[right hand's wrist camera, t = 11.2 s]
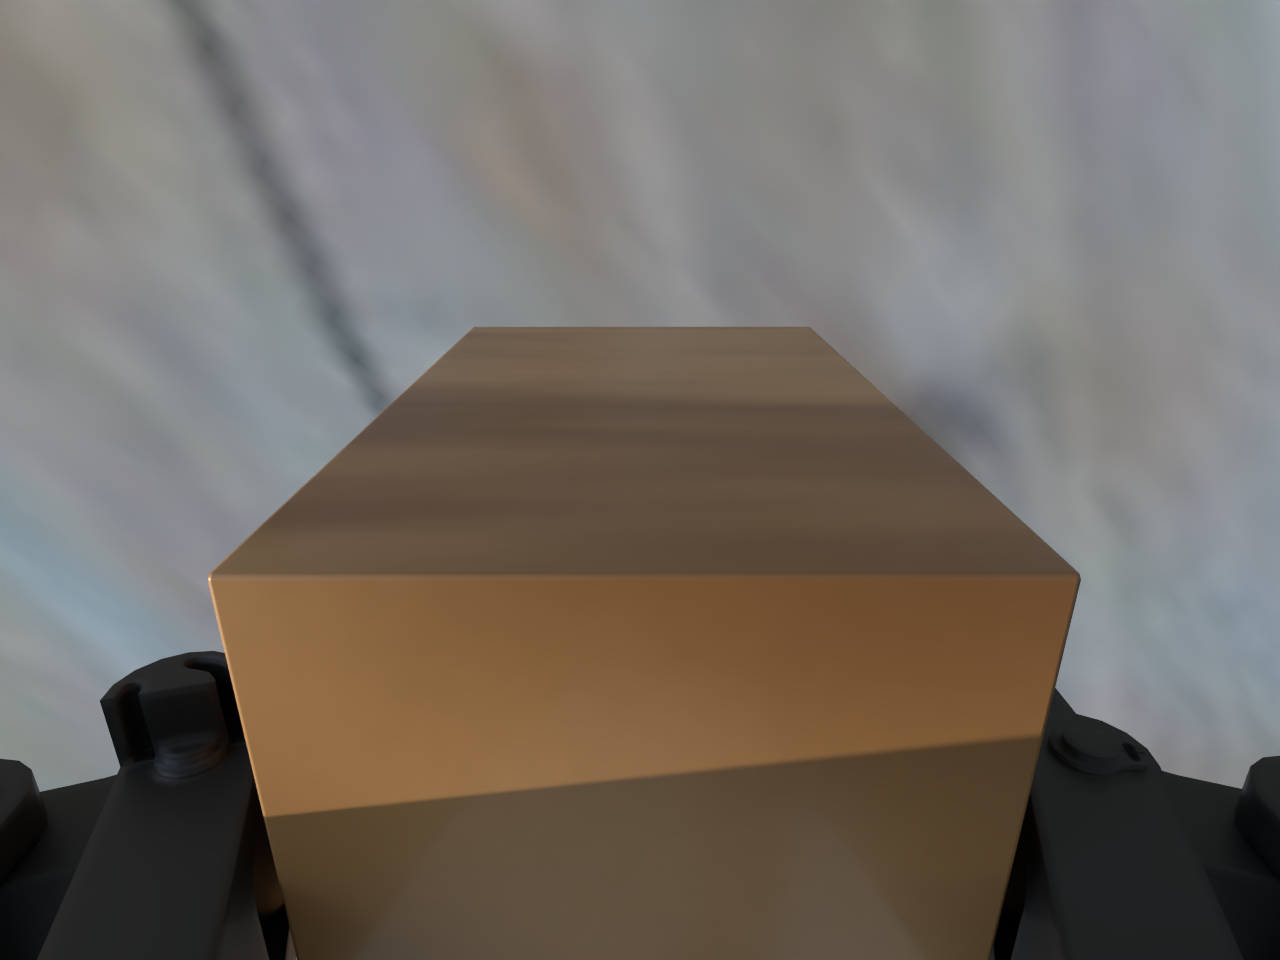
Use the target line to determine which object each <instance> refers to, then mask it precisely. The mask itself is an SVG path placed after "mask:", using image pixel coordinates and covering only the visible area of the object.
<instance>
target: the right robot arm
mask: <svg viewBox="0 0 1280 960" xmlns="http://www.w3.org/2000/svg"><path fill="white" fill-rule="evenodd" d="M100 703H101V706H102V709H103V713H104V716H105V719H106V722H107V725H108V728H109V732H110V735H111V738H112V741H113V744H114V748H115V751H116V754H117V757H118V760H119V764H120V769H119V772H118V774H117V775H114V776H110V777H107V778H103V779H99V780H94V781H89V782H85V783H80V784H75V785H71V786H66V787H61V788H57V789H52V790H47V791H43V792H39V789H38V786H37V783H36V781H35V778H34V775H33V773H32V770H31V769H30V768H28V767H27V766H26V765H24V764H23V763H21V762H20V761H16V760H6V759H0V960H296V952H295V948H294V944H293V939H292V935H291V931H290V927H289V922H288V918H287V914H286V910H285V906H284V901H283V897H282V893H281V889H280V884H279V880H278V876H277V872H276V867H275V863H274V859H273V855H272V850H271V846H270V842H269V838H268V834H267V829H266V825H265V821H264V817H263V812H262V808H261V804H260V800H259V795H258V791H257V787H256V783H255V778H254V774H253V770H252V766H251V761H250V757H249V753H248V749H247V745H246V740H245V736H244V732H243V728H242V723H241V719H240V715H239V711H238V706H237V702H236V698H235V694H234V689H233V685H232V681H231V677H230V672H229V668H228V664H227V660H226V656H225V653H221V652H216V651H205V652H189V653H185V654H181V655H177V656H172V657H168V658H164V659H161V660H158V661H156V662H154V663H151V664H149V665H147V666H144V667H142V668H140V669H137V670H135V671H133V672H132V673H130V674H129V675H127V676H126V677H124V678H123V679H121V680H120V681H118V682H117V683H115V684H114V685H113V686H112V687H111V688H110V689H109V691H108V692H107V693H106V694H105V695H104V696H103V698H102V699H101V700H100ZM990 960H1280V756H1274V757H1264V758H1262V759H1260V760H1259V761H1257V762H1256V763H1255V764H1253V765H1252V766H1250V769H1249V772H1248V775H1247V777H1246V780H1245V783H1244V785H1243V788H1242V789H1239V788H1235V787H1230V786H1225V785H1221V784H1216V783H1211V782H1207V781H1202V780H1197V779H1193V778H1188V777H1183V776H1179V775H1175V774H1171V773H1168V772H1164V771H1162V770H1161V768H1160V766H1159V764H1158V763H1157V762H1156V760H1155V759H1154V758H1153V756H1152V755H1151V753H1150V752H1149V751H1148V749H1147V748H1145V747H1144V746H1143V745H1142V744H1140V743H1139V742H1138V741H1136V740H1135V739H1134V738H1132V737H1131V736H1130V735H1129V734H1127V733H1126V732H1123V731H1121V730H1119V729H1117V728H1115V727H1113V726H1111V725H1109V724H1107V723H1105V722H1103V721H1100V720H1097V719H1093V718H1089V717H1086V716H1082V715H1079V714H1076V713H1075V712H1074V711H1073V709H1072V708H1071V707H1070V706H1069V704H1068V703H1067V702H1066V701H1065V699H1064V698H1063V697H1062V696H1061V694H1060V693H1059V692H1058V691H1057V689H1056V688H1055V690H1054V694H1053V698H1052V702H1051V706H1050V710H1049V715H1048V719H1047V723H1046V727H1045V731H1044V736H1043V740H1042V744H1041V748H1040V752H1039V756H1038V761H1037V765H1036V769H1035V773H1034V777H1033V782H1032V786H1031V790H1030V794H1029V798H1028V802H1027V807H1026V811H1025V815H1024V819H1023V823H1022V827H1021V832H1020V836H1019V840H1018V844H1017V848H1016V853H1015V857H1014V861H1013V865H1012V869H1011V873H1010V878H1009V882H1008V886H1007V890H1006V894H1005V899H1004V903H1003V907H1002V911H1001V915H1000V919H999V924H998V928H997V932H996V936H995V940H994V944H993V949H992V953H991V957H990Z"/></svg>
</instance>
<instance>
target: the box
mask: <svg viewBox="0 0 1280 960" xmlns="http://www.w3.org/2000/svg"><path fill="white" fill-rule="evenodd" d="M1080 581H1081V579H1080V574H1079V573H1078V572H1077V571H1076V570H1075V569H1074V568H1073V567H1072V566H1071V565H1070V564H1068V563H1067V562H1066V561H1065V560H1064V559H1063V558H1062V557H1061V556H1060V555H1059V554H1058V553H1056V552H1055V551H1054V550H1053V549H1052V548H1051V547H1050V546H1049V545H1048V544H1047V543H1045V542H1044V541H1043V540H1042V539H1041V538H1040V537H1039V536H1038V535H1037V534H1036V533H1035V532H1033V531H1032V530H1031V529H1030V528H1029V527H1028V526H1027V525H1026V524H1025V523H1024V522H1023V521H1021V520H1020V519H1019V518H1018V517H1017V516H1016V515H1015V514H1014V513H1013V512H1012V511H1010V510H1009V509H1008V508H1007V507H1006V506H1005V505H1004V504H1003V503H1002V502H1001V501H1000V500H998V499H997V498H996V497H995V496H994V495H993V494H992V493H991V492H990V491H989V490H988V489H986V488H985V487H984V486H983V485H982V484H981V483H980V482H979V481H978V480H977V479H975V478H974V477H973V476H972V475H971V474H970V473H969V472H968V471H967V470H966V469H965V468H963V467H962V466H961V465H960V464H959V463H958V462H957V461H956V460H955V459H954V458H953V457H951V456H950V455H949V454H948V453H947V452H946V451H945V450H944V449H943V448H942V447H940V446H939V445H938V444H937V443H936V442H935V441H934V440H933V439H932V438H931V437H930V436H928V435H927V434H926V433H925V432H924V431H923V430H922V429H921V428H920V427H919V426H918V425H916V424H915V423H914V422H913V421H912V420H911V419H910V418H909V417H908V416H907V415H905V414H904V413H903V412H902V411H901V410H900V409H899V408H898V407H897V406H896V405H895V404H893V403H892V402H891V401H890V400H889V399H888V398H887V397H886V396H885V395H884V394H883V393H881V392H880V391H879V390H878V389H877V388H876V387H875V386H874V385H873V384H872V383H870V382H869V381H868V380H867V379H866V378H865V377H864V376H863V375H862V374H861V373H860V372H858V371H857V370H856V369H855V368H854V367H853V366H852V365H851V364H850V363H849V362H848V361H846V360H845V359H844V358H843V357H842V356H841V355H840V354H839V353H838V352H837V351H835V350H834V349H833V348H832V347H831V346H830V345H829V344H828V343H827V342H826V341H825V340H823V339H822V338H821V337H820V336H819V335H818V334H817V333H816V332H815V331H814V330H813V329H811V328H810V327H474V328H472V329H471V330H470V331H469V332H468V333H467V334H466V335H465V336H464V337H463V338H462V339H460V340H459V341H458V342H457V343H456V344H455V345H454V346H453V347H452V348H451V349H450V350H449V351H448V352H447V353H445V354H444V355H443V356H442V357H441V358H440V359H439V360H438V361H437V362H436V363H435V364H434V365H433V366H431V367H430V368H429V369H428V370H427V371H426V372H425V373H424V374H423V375H422V376H421V377H420V378H419V379H418V380H416V381H415V382H414V383H413V384H412V385H411V386H410V387H409V388H408V389H407V390H406V391H405V392H404V393H403V394H401V395H400V396H399V397H398V398H397V399H396V400H395V401H394V402H393V403H392V404H391V405H390V406H389V407H387V408H386V409H385V410H384V411H383V412H382V413H381V414H380V415H379V416H378V417H377V418H376V419H375V420H374V421H372V422H371V423H370V424H369V425H368V426H367V427H366V428H365V429H364V430H363V431H362V432H361V433H360V434H359V435H357V436H356V437H355V438H354V439H353V440H352V441H351V442H350V443H349V444H348V445H347V446H346V447H345V448H344V449H342V450H341V451H340V452H339V453H338V454H337V455H336V456H335V457H334V458H333V459H332V460H331V461H330V462H328V463H327V464H326V465H325V466H324V467H323V468H322V469H321V470H320V471H319V472H318V473H317V474H316V475H315V476H313V477H312V478H311V479H310V480H309V481H308V482H307V483H306V484H305V485H304V486H303V487H302V488H301V489H300V490H298V491H297V492H296V493H295V494H294V495H293V496H292V497H291V498H290V499H289V500H288V501H287V502H286V503H284V504H283V505H282V506H281V507H280V508H279V509H278V510H277V511H276V512H275V513H274V514H273V515H272V516H271V517H269V518H268V519H267V520H266V521H265V522H264V523H263V524H262V525H261V526H260V527H259V528H258V529H257V530H256V531H254V532H253V533H252V534H251V535H250V536H249V537H248V538H247V539H246V540H245V541H244V542H243V543H242V544H241V545H239V546H238V547H237V548H236V549H235V550H234V551H233V552H232V553H231V554H230V555H229V556H228V557H227V558H225V559H224V560H223V561H222V562H221V563H220V564H219V565H218V566H217V567H216V568H215V569H214V570H213V571H212V572H210V573H209V576H208V584H209V588H210V592H211V596H212V600H213V605H214V609H215V613H216V617H217V622H218V626H219V630H220V634H221V639H222V643H223V647H224V651H225V656H226V660H227V664H228V668H229V672H230V677H231V681H232V685H233V689H234V694H235V698H236V702H237V706H238V711H239V715H240V719H241V723H242V728H243V732H244V736H245V740H246V745H247V749H248V753H249V757H250V761H251V766H252V770H253V774H254V778H255V783H256V787H257V791H258V795H259V800H260V804H261V808H262V812H263V817H264V821H265V825H266V829H267V834H268V838H269V842H270V846H271V850H272V855H273V859H274V863H275V867H276V872H277V876H278V880H279V884H280V889H281V893H282V897H283V901H284V906H285V910H286V914H287V918H288V922H289V927H290V931H291V935H292V939H293V944H294V948H295V952H296V956H297V960H990V957H991V953H992V949H993V944H994V940H995V936H996V932H997V928H998V924H999V919H1000V915H1001V911H1002V907H1003V903H1004V899H1005V894H1006V890H1007V886H1008V882H1009V878H1010V873H1011V869H1012V865H1013V861H1014V857H1015V853H1016V848H1017V844H1018V840H1019V836H1020V832H1021V827H1022V823H1023V819H1024V815H1025V811H1026V807H1027V802H1028V798H1029V794H1030V790H1031V786H1032V782H1033V777H1034V773H1035V769H1036V765H1037V761H1038V756H1039V752H1040V748H1041V744H1042V740H1043V736H1044V731H1045V727H1046V723H1047V719H1048V715H1049V710H1050V706H1051V702H1052V698H1053V694H1054V690H1055V685H1056V681H1057V677H1058V673H1059V669H1060V665H1061V660H1062V656H1063V652H1064V648H1065V644H1066V639H1067V635H1068V631H1069V627H1070V623H1071V619H1072V614H1073V610H1074V606H1075V602H1076V598H1077V593H1078V589H1079V585H1080Z"/></svg>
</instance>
